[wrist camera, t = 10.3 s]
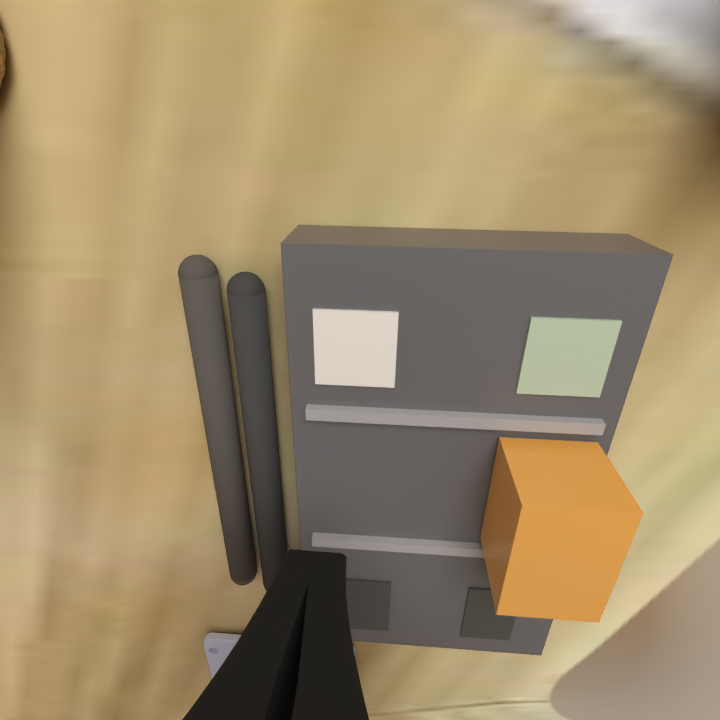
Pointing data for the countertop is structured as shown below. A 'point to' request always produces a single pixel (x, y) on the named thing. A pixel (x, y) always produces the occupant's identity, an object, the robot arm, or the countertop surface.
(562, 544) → the block
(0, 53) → the sprinkles bottle
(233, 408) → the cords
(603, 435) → the grey block
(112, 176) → the countertop surface
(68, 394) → the countertop surface
